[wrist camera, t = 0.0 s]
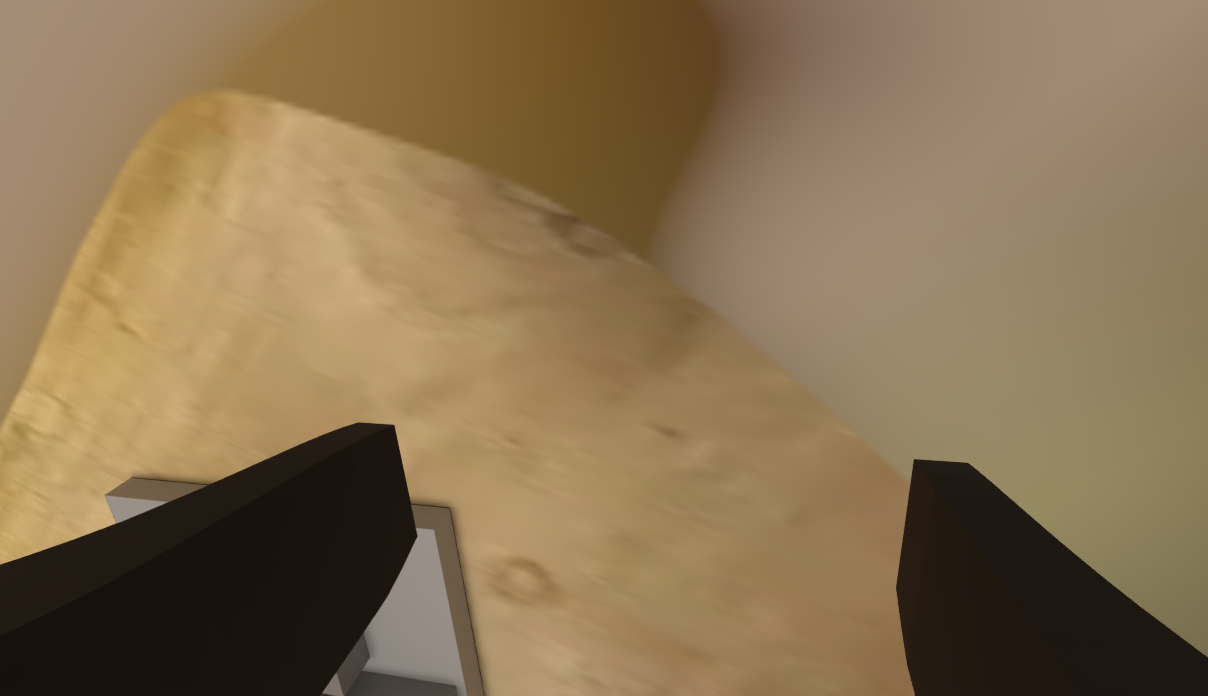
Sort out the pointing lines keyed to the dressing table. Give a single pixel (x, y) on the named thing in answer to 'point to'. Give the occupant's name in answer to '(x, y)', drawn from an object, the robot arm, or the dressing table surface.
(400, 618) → the stacking puzzle board
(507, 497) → the dressing table surface
